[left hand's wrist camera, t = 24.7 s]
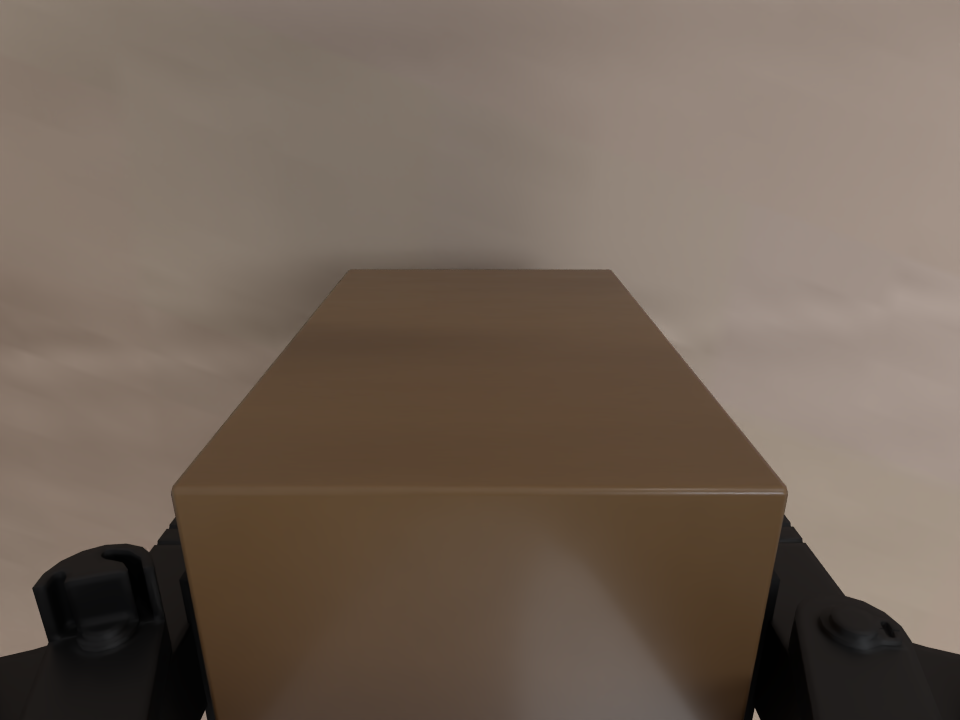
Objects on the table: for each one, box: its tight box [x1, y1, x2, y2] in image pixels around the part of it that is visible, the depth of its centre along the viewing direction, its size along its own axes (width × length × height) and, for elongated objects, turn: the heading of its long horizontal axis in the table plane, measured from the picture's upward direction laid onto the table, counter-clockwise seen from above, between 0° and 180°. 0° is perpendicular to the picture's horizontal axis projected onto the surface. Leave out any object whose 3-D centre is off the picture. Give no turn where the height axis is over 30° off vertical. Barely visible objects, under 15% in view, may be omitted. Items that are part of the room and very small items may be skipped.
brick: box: [171, 270, 788, 720], centre depth 12 cm, size 7×6×9 cm
